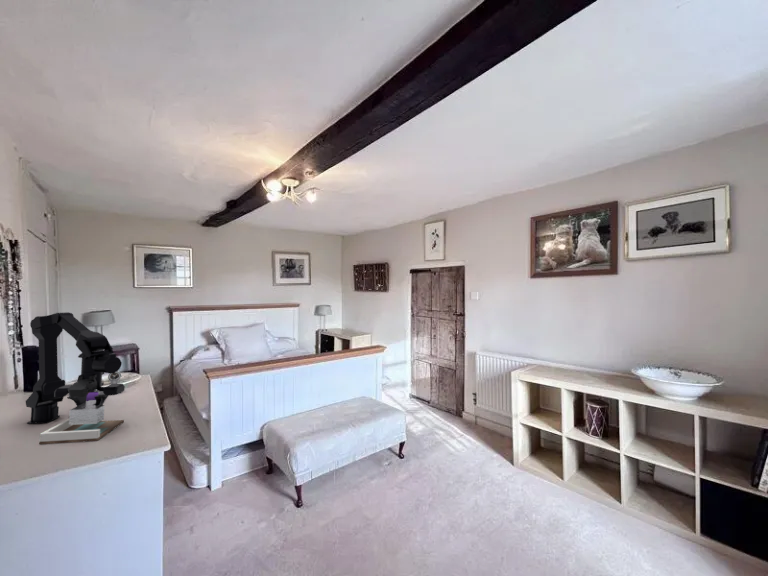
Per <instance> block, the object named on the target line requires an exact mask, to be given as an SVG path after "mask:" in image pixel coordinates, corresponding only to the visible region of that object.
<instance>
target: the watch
mask: <svg viewBox="0 0 768 576" xmlns="http://www.w3.org/2000/svg"><path fill="white" fill-rule="evenodd" d="M121 373H122V372H120V370H118V371H117V372H115V373H108V375H107V379H108V381H109V383H110V385H111V384H118V383H119V382H120V379H121V377H123V374H121Z"/></svg>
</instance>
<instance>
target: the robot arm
mask: <svg viewBox="0 0 768 576" xmlns="http://www.w3.org/2000/svg"><path fill="white" fill-rule="evenodd" d="M29 325H30V328H31V334H32V335H33V336H34V337H35V338H36V339H37V340H38V374H39V375H38V376H39V378H38V380H37V381H36V382H35V384H34V385H33V386H32V393H31V394H30V395H29V396H28V398H26V400H25V406H26V407H27V408H30V409H31V410H30V420H29V421H27V422H26V424H29V425H32V423H33V424H47V422H48V423H50V422H52V421H54V420H56V419H58V418H60V417H61V415H59V409H60V407H59V406H58V403H59V402H60V403H62V402H63V400H64V398H65V397H66V396H67V395H68V396H67V399H68V400H71V401H73V402H74V403H75V405H76V407H77V406H79V405H81V404H83V403H85V402H87V401H86V398H87V395H88V393H93V392H98V395H97V396H95V397H94V398H95V399H96V405H104V403H105V401H106V400H107V398H108V397H109V396H116V395H119V394H122V393H123V392H125V388H126V387H125V385H124V383H117V384H111V383H110V384H109V385H107V386H104V384H105V383H104V382H102V381H103V375H105V374H110V373H115V372H117V371H120V369H121V367H122V363H123V362H122V361H121V358H119V357H117V354H116V353H115V352H114V351H113V349H114V348H113V347H112V346H111V344H110V342H109V340H108V338H107V337H106V336H105V335H104V334H102V333H100V332H97V331H93V330H91V329H89V328H88V327H87V326H85V325H84V324H83V323H82V322H81V321H80V320H78V319H77V318H76V317H75V316H74V314H73V313H72V312H67V311H66V312H55V313H53V314H48V315H42V316H41V315H40V316H35V317H34V318H33V319H31V321H30V323H29ZM63 331H65V332H66V333H67V334H68V335H69V336H71V337H72V338H73V339H74V340H75V341H76V342H75V346H76V347H77V348H78V350H79V352H81V353H80V354H79V355H78V356H77V358H80V359H81V368H80V374H79V375H78V376H77V379H76V381H75V382H74V383H73V384H66V380H65V379H62V378H60V376H59V372H58V371H59V367H58V366H59V365H58V338H59V337H60V335H61V333H62V332H63Z"/></svg>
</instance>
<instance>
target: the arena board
mask: <svg viewBox="0 0 768 576" xmlns="http://www.w3.org/2000/svg"><path fill="white" fill-rule="evenodd" d="M124 421H125V420H124V419H120V420H119V419H118V420H115V419H114V420H102V421H100V422H98V423H97V424H77V425H72V426H70V427H69V428H67V429H65V430H63V431H78V430H96V429H100V437H99V438H94V439H78V440H61V441H44V442H39V441H38V442H39V443H38V444H39V445H48V444H49V445H50V444H51V445H53V444H65V443H81V442H83V441H85V442H96V441H97V442H98V441H99V440H100V438H101V439H102V438H104V437H105V436H107V435H108V434H109V433H110V432H112V431H114V428H115V427H116V428H118V427H119V426H121V425H122V424H123V423H124ZM121 423H122V424H121ZM118 425H119V426H118ZM117 426H118V427H117ZM116 428H115V429H116ZM111 430H112V431H111ZM107 433H108V434H107Z"/></svg>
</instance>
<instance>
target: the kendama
mask: <svg viewBox="0 0 768 576" xmlns="http://www.w3.org/2000/svg"><path fill="white" fill-rule="evenodd" d="M97 395H98V392H93V393H88V395H87V398H86V402H87V401H89V400H96V399H95V398H94V397H95V396H97Z"/></svg>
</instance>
